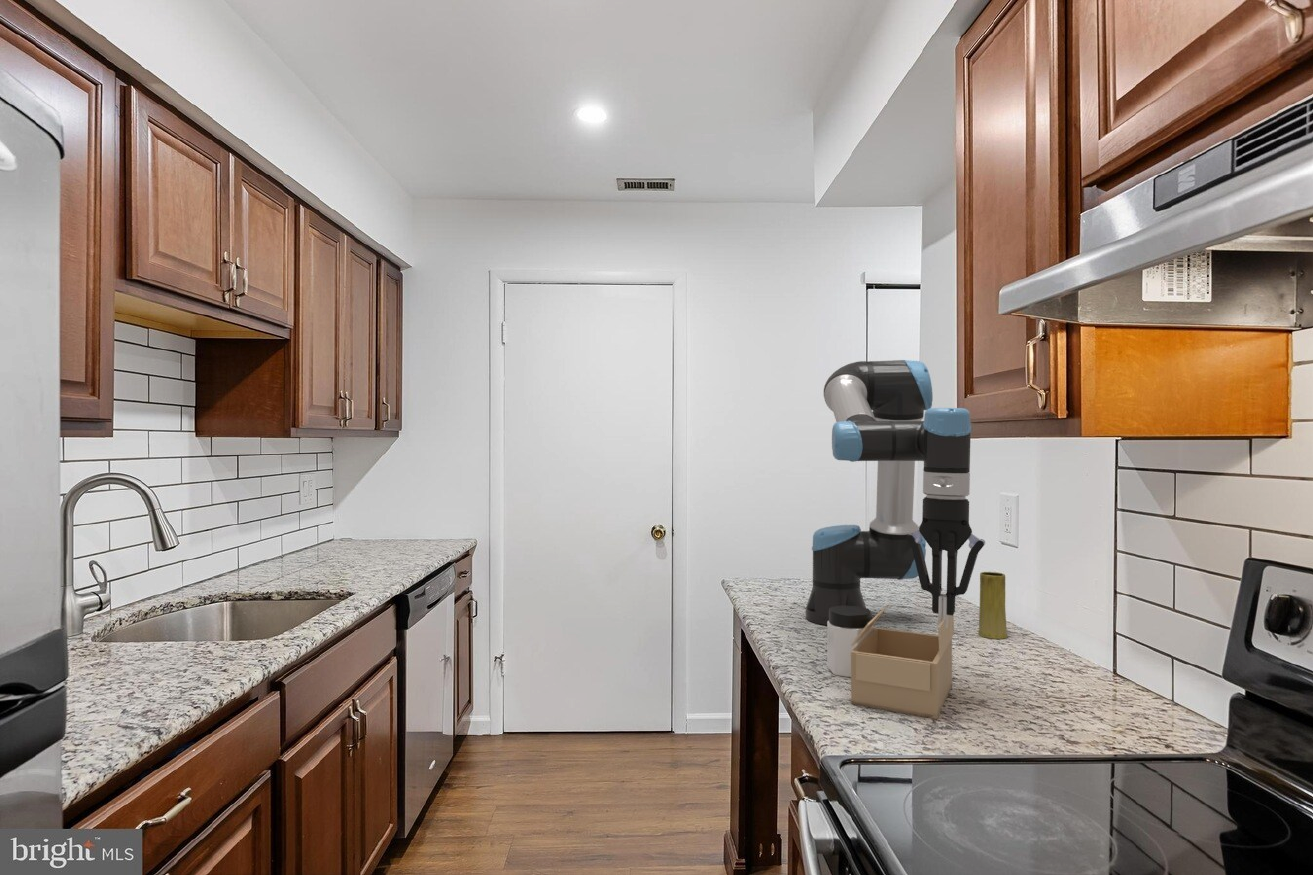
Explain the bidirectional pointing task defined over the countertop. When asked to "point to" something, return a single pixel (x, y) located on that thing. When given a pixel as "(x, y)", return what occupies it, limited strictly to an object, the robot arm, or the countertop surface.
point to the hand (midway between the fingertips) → (943, 632)
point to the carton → (901, 672)
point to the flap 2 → (945, 634)
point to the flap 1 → (869, 625)
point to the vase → (992, 606)
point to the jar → (844, 636)
